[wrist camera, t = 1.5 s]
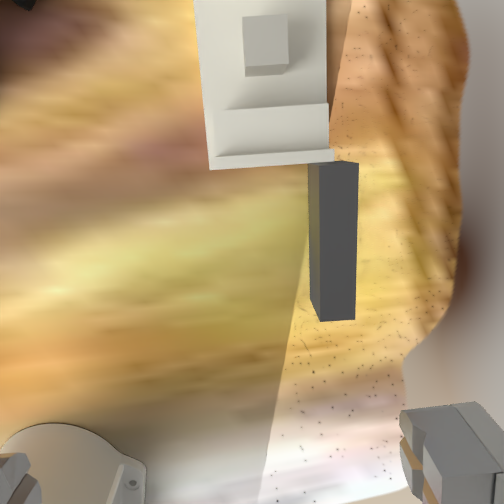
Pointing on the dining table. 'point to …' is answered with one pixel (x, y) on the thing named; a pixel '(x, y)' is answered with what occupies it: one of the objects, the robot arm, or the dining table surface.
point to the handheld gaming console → (25, 4)
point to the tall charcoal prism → (333, 238)
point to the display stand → (264, 81)
